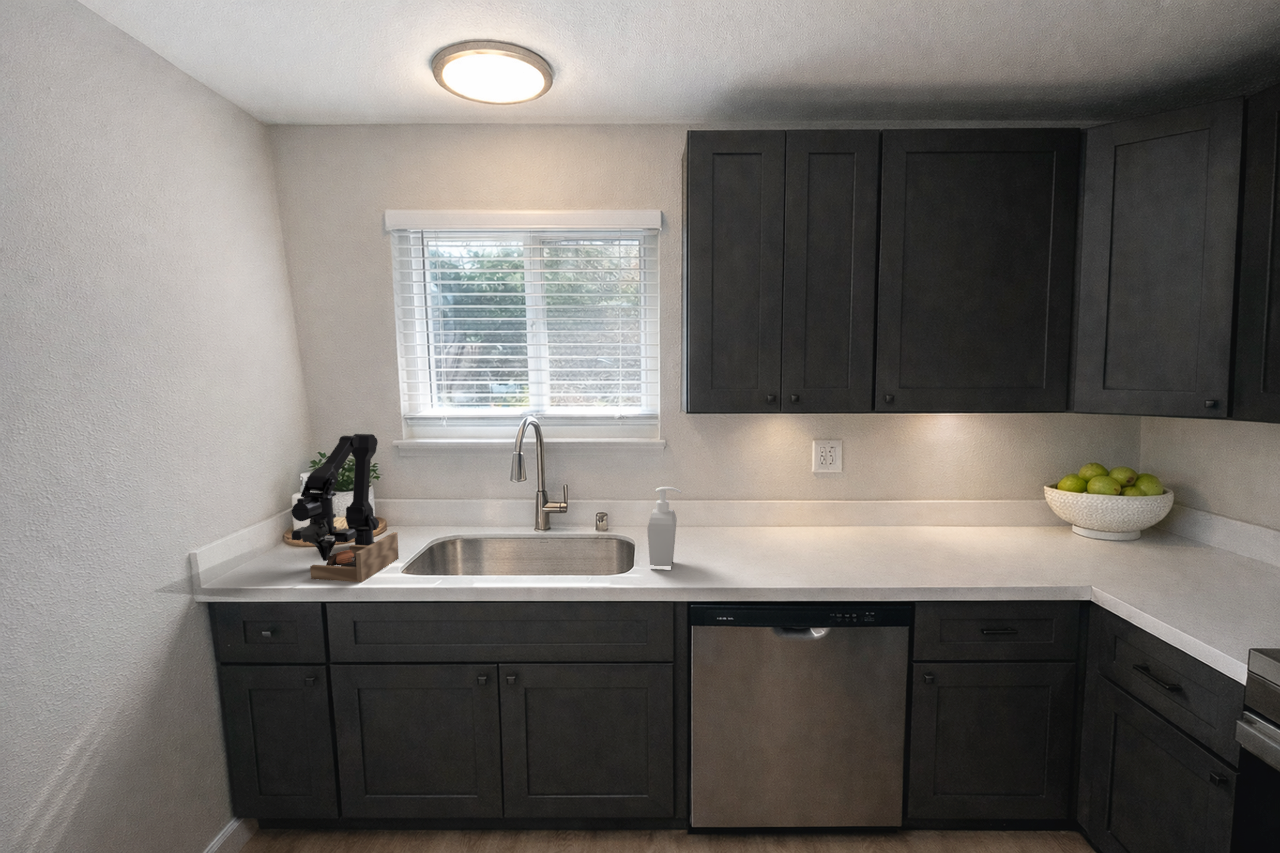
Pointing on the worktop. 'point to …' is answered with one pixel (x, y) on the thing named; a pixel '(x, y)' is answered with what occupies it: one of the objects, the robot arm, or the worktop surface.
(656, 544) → the soap bottle
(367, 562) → the walnut bay
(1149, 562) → the worktop surface
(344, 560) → the pottery mug
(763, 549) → the worktop surface
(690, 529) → the worktop surface
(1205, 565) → the worktop surface
